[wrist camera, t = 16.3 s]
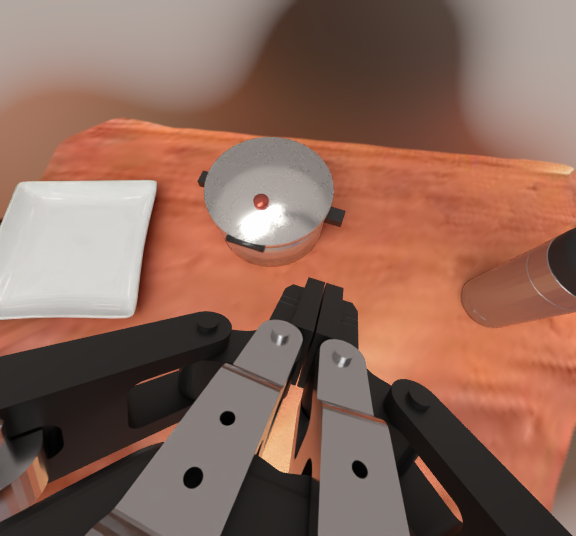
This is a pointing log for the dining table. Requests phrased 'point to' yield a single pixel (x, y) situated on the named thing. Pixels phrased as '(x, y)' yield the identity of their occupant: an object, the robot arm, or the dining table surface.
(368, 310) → the dining table surface
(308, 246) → the pot
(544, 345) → the dining table surface
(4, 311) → the square plate
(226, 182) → the lid
